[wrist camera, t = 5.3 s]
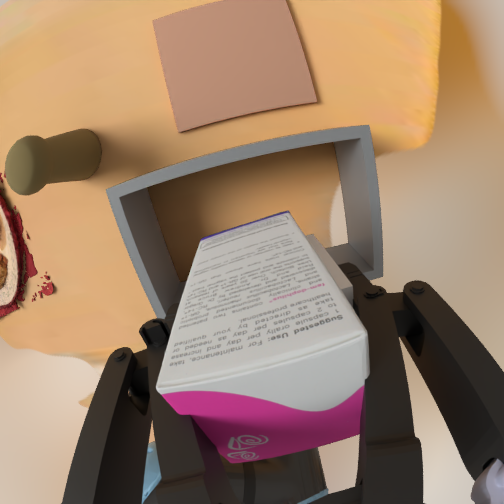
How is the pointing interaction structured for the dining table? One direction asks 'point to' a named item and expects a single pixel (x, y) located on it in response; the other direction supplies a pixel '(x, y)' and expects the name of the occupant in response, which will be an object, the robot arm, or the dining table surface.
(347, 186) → the rectangular frame
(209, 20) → the mat
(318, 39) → the dining table surface
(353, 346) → the supplement box
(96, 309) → the dining table surface
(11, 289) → the plate with food
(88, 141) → the cork
